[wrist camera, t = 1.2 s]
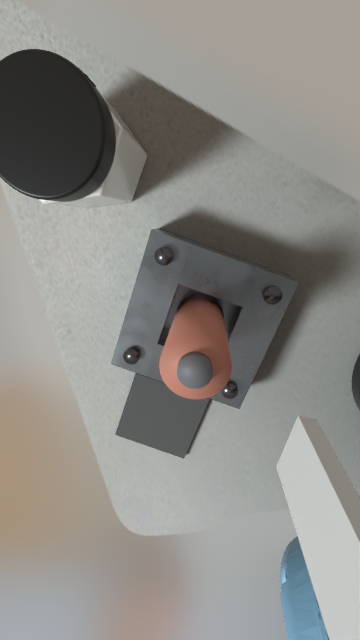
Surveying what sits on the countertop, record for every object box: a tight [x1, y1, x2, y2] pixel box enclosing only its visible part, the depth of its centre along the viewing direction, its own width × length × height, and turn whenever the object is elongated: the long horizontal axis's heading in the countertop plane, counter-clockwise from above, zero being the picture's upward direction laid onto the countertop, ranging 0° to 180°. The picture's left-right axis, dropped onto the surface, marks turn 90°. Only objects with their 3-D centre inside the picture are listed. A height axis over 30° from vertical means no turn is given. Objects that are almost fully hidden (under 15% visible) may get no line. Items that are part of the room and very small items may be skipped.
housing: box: [111, 229, 299, 409], centre depth 32 cm, size 14×14×5 cm
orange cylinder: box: [159, 294, 232, 399], centre depth 27 cm, size 5×5×13 cm
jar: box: [0, 49, 147, 209], centre depth 25 cm, size 9×8×12 cm
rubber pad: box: [115, 373, 209, 458], centre depth 38 cm, size 9×9×1 cm
